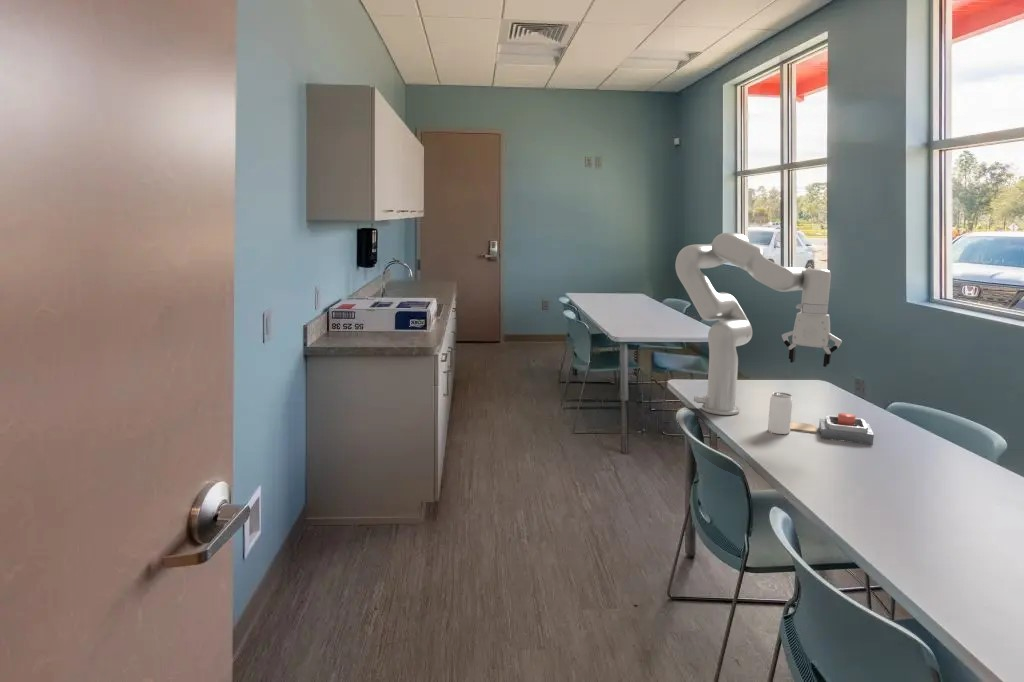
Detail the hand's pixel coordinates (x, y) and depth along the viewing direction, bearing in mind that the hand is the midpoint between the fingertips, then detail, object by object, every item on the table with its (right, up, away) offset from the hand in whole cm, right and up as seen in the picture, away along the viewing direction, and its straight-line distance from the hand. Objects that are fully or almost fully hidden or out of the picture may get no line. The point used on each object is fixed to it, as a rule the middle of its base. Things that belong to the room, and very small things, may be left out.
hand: (808, 363), depth 206 cm
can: (-9, -22, +2) cm, 23 cm away
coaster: (0, -21, +6) cm, 21 cm away
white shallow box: (+11, -22, -2) cm, 24 cm away
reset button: (+11, -19, -2) cm, 21 cm away
